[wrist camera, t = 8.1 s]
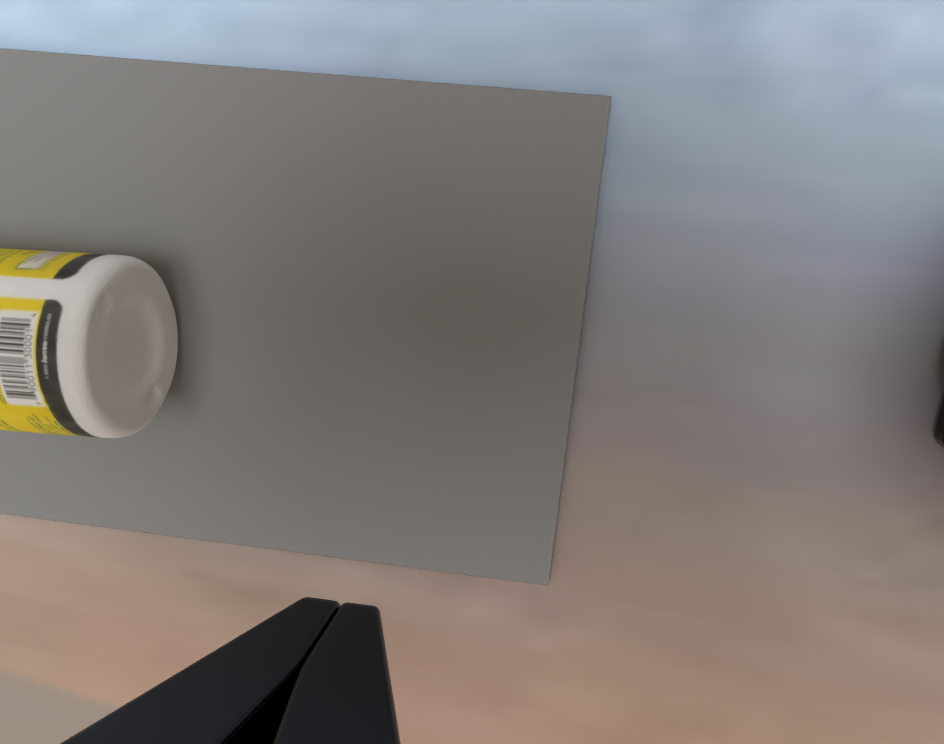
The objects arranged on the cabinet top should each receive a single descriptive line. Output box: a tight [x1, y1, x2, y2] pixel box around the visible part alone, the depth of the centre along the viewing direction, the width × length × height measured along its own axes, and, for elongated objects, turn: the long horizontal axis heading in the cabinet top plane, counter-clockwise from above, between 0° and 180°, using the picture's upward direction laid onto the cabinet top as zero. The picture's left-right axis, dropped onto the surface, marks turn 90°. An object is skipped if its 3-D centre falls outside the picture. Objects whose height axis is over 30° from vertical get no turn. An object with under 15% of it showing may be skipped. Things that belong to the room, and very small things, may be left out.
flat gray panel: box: [0, 49, 611, 585], centre depth 21 cm, size 20×14×1 cm
